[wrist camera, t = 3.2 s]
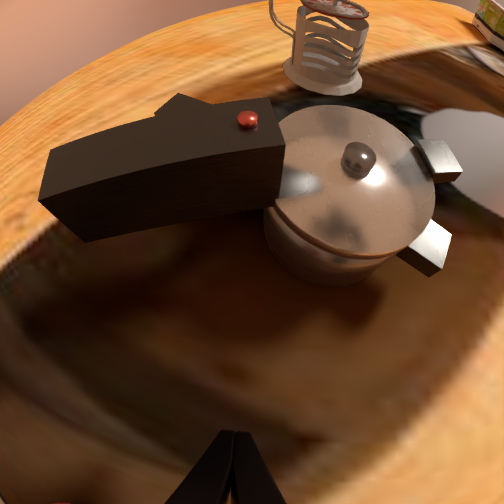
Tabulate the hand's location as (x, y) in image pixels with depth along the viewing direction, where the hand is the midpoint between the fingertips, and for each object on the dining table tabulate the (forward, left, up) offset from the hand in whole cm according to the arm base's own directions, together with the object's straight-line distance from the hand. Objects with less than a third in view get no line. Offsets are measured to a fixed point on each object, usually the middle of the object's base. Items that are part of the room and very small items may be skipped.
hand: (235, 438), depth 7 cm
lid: (+6, +10, -5) cm, 13 cm away
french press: (+19, +28, -11) cm, 36 cm away
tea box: (+101, +51, -11) cm, 114 cm away
